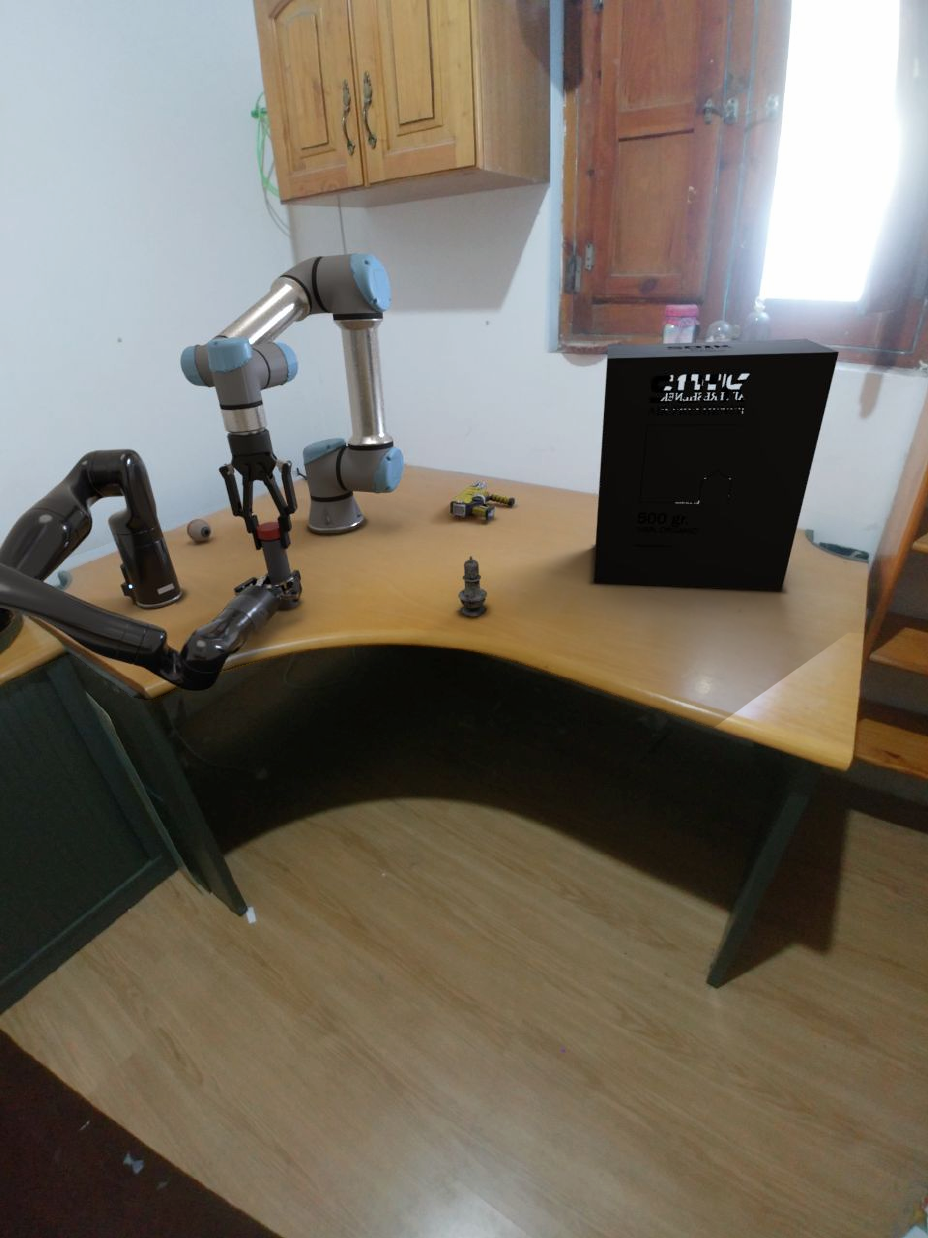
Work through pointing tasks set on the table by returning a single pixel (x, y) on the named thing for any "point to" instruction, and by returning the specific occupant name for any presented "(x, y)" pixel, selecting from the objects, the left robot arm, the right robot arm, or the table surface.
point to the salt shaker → (472, 590)
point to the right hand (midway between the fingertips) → (273, 546)
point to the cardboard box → (707, 461)
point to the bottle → (277, 565)
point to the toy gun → (477, 502)
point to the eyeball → (199, 530)
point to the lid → (268, 531)
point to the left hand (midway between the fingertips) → (286, 573)
